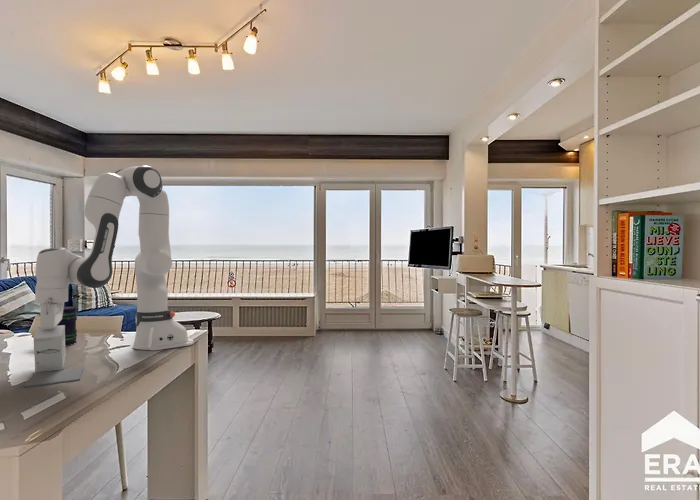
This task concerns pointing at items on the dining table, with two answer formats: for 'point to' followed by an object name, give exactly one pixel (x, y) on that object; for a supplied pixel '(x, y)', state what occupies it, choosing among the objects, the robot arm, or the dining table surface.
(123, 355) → the dining table surface
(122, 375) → the dining table surface
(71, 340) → the storage jar
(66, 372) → the mat
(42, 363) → the supplement box
